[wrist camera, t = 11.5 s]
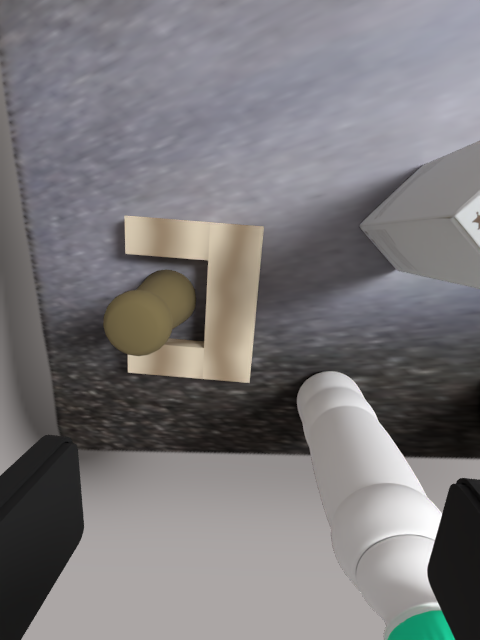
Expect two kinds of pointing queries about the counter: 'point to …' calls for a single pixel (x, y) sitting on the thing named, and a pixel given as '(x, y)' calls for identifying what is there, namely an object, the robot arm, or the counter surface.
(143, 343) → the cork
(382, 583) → the water bottle
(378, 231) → the skincare box
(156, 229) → the wooden u-shaped block
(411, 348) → the counter surface
